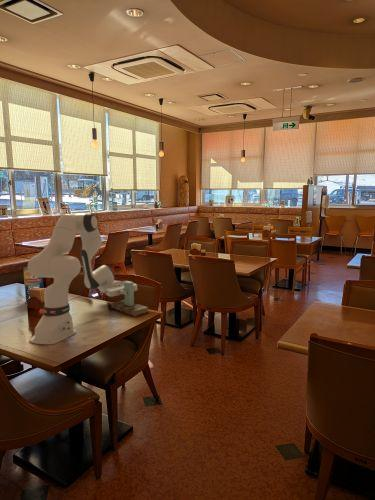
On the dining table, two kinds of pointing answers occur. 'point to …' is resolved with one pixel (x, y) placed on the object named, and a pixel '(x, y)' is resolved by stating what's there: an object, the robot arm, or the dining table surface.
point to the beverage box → (31, 281)
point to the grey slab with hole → (130, 308)
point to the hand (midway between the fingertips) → (130, 292)
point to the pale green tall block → (129, 293)
